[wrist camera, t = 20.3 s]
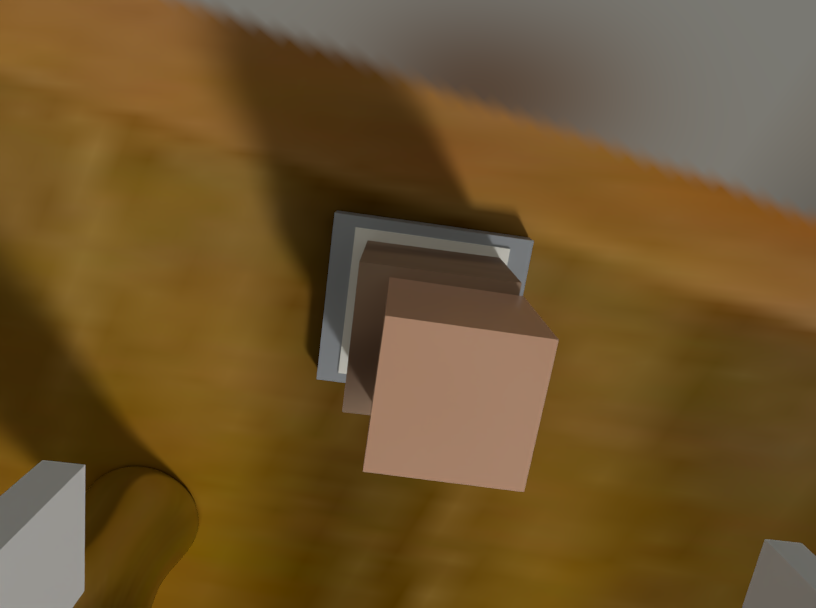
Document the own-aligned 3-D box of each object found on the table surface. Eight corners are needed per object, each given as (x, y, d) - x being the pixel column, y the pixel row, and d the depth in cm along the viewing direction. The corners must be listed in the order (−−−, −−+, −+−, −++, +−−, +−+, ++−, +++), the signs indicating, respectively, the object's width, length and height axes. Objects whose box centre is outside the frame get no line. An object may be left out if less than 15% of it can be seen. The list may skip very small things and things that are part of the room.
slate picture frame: (319, 371, 28) (316, 380, 27) (337, 210, 26) (334, 212, 25) (498, 394, 29) (501, 403, 28) (529, 237, 27) (534, 241, 26)
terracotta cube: (389, 277, 21) (385, 315, 16) (523, 296, 21) (558, 340, 16) (371, 401, 22) (362, 471, 18) (498, 418, 23) (524, 491, 18)
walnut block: (367, 240, 26) (359, 261, 21) (499, 257, 26) (521, 282, 21) (353, 364, 27) (342, 411, 22) (477, 380, 28) (493, 429, 23)
